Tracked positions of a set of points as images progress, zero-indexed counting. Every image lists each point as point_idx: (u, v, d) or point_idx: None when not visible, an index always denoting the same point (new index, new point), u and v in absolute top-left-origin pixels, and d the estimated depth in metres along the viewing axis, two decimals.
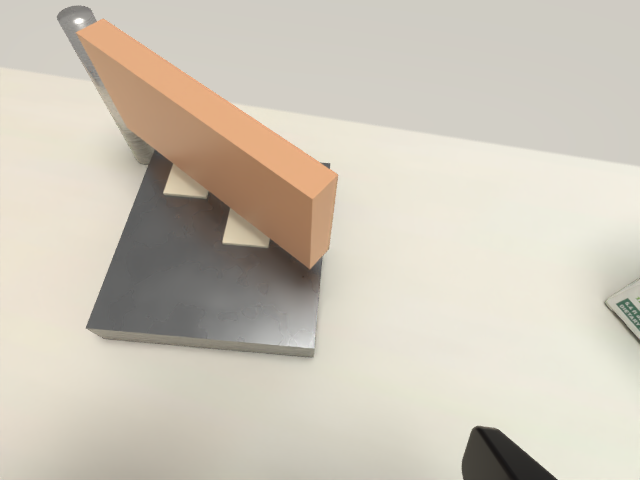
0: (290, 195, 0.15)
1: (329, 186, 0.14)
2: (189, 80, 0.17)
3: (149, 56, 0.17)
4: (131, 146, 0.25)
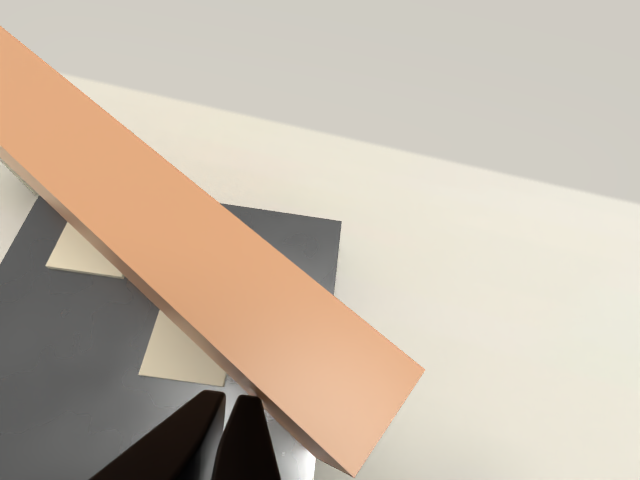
0: (282, 414, 0.05)
1: (398, 405, 0.05)
2: (31, 66, 0.07)
3: None
4: (12, 171, 0.15)
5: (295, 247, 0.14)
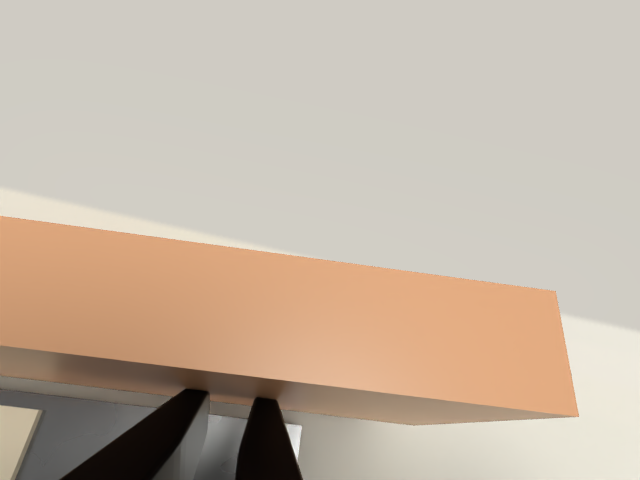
0: (460, 408, 0.05)
1: (550, 334, 0.05)
2: None
3: None
4: None
5: None
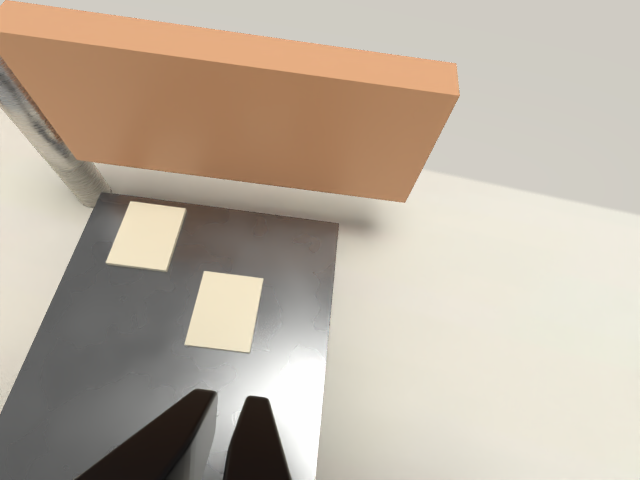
0: (418, 109, 0.12)
1: (454, 80, 0.12)
2: (207, 33, 0.12)
3: (125, 23, 0.12)
4: (69, 187, 0.19)
5: (302, 245, 0.18)
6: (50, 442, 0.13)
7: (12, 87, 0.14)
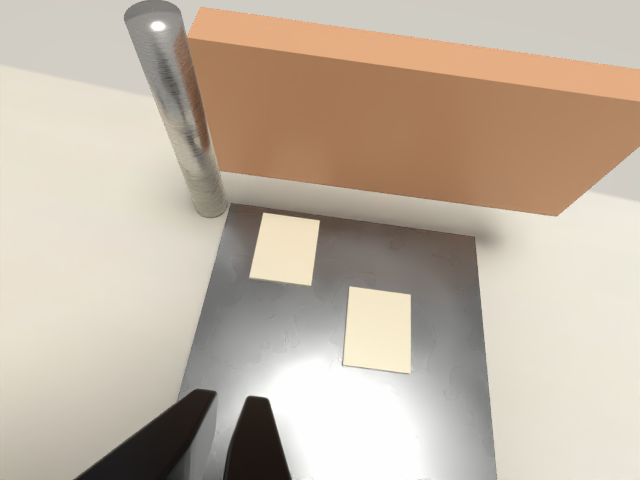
0: (629, 121, 0.12)
1: None
2: (410, 41, 0.12)
3: (326, 31, 0.11)
4: (196, 197, 0.18)
5: (441, 260, 0.17)
6: (222, 468, 0.13)
7: (185, 96, 0.13)
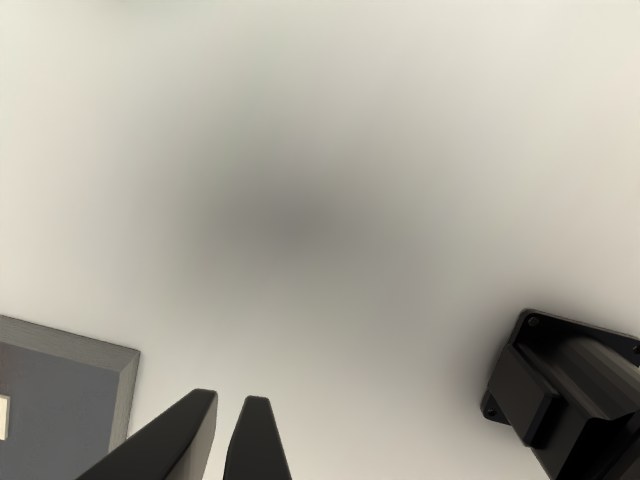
0: None
1: None
2: None
3: None
4: None
5: None
6: None
7: None
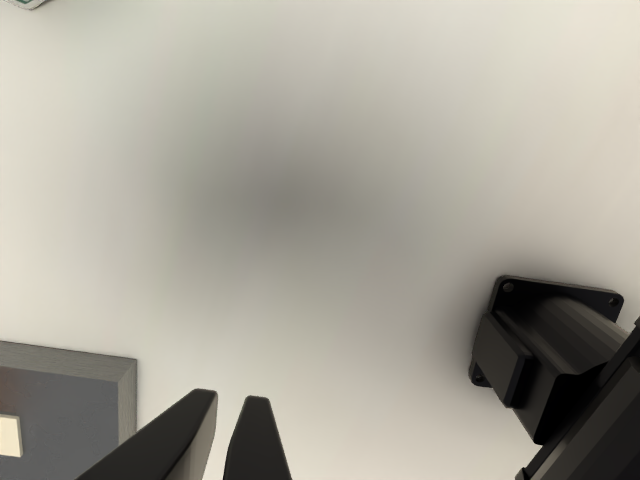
0: None
1: None
2: None
3: None
4: None
5: None
6: None
7: None
